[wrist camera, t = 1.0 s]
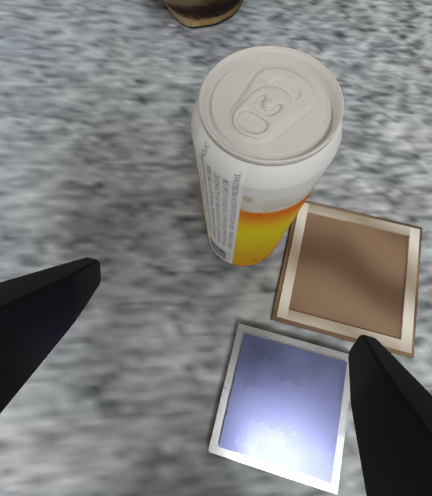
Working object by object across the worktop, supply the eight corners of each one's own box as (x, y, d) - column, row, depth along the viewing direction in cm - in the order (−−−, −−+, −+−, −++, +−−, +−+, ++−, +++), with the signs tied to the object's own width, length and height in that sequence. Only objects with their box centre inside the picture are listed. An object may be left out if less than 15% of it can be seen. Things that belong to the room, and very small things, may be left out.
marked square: (410, 357, 21) (415, 358, 21) (271, 319, 22) (272, 319, 22) (419, 228, 24) (423, 226, 24) (296, 200, 25) (297, 198, 25)
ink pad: (333, 488, 19) (339, 497, 18) (208, 447, 20) (207, 453, 19) (350, 354, 21) (356, 356, 20) (238, 323, 22) (239, 323, 21)
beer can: (290, 229, 24) (387, 86, 10) (249, 282, 23) (292, 206, 9) (236, 191, 26) (253, 15, 11) (194, 239, 24) (153, 111, 10)
